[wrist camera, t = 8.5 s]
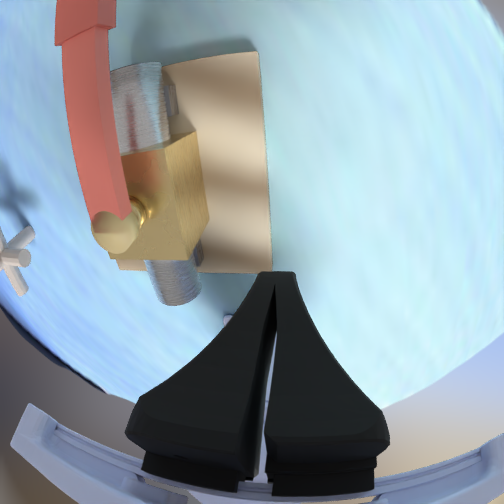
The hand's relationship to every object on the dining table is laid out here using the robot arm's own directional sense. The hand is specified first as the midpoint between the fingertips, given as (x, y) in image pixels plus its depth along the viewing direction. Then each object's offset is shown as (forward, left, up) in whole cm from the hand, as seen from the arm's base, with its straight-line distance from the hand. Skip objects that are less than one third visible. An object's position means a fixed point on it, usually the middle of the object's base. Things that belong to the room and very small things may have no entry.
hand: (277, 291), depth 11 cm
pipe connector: (-2, +29, -10) cm, 31 cm away
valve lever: (+8, +8, -3) cm, 12 cm away
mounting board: (+2, +8, -10) cm, 13 cm away
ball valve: (+2, +8, -10) cm, 13 cm away
